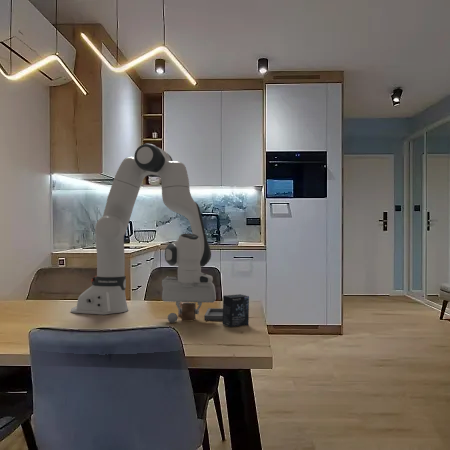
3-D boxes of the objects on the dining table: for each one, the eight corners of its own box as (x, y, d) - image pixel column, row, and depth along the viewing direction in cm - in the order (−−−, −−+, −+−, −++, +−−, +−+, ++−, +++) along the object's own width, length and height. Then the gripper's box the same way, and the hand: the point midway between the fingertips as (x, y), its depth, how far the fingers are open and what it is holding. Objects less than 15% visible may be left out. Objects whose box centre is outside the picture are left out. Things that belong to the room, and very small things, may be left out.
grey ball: (166, 323, 187) (166, 313, 187) (168, 321, 190) (168, 311, 190) (176, 323, 186) (176, 313, 186) (178, 321, 190) (178, 312, 190)
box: (231, 327, 181) (231, 297, 181) (222, 324, 186) (222, 295, 186) (249, 325, 186) (249, 295, 186) (240, 322, 190) (240, 293, 190)
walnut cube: (181, 320, 193) (182, 304, 193) (183, 318, 197) (183, 302, 197) (193, 320, 193) (194, 304, 193) (195, 318, 197) (195, 302, 197)
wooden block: (177, 316, 201) (177, 303, 201) (179, 314, 206) (179, 301, 205) (188, 316, 201) (188, 303, 201) (190, 314, 205) (190, 301, 205)
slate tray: (204, 320, 194) (204, 315, 194) (208, 312, 210) (208, 308, 210) (241, 321, 193) (241, 316, 193) (243, 313, 209) (243, 308, 209)
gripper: (160, 277, 192) (159, 314, 193) (215, 278, 191) (214, 315, 191) (163, 275, 199) (163, 311, 199) (216, 276, 197) (216, 312, 198)
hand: (188, 313), depth 195 cm, fingers closed on walnut cube, 4 cm apart
